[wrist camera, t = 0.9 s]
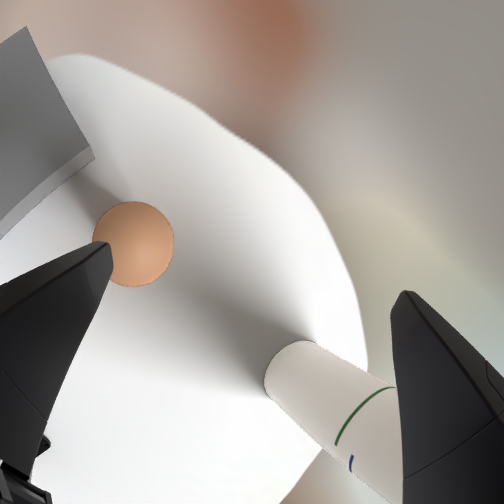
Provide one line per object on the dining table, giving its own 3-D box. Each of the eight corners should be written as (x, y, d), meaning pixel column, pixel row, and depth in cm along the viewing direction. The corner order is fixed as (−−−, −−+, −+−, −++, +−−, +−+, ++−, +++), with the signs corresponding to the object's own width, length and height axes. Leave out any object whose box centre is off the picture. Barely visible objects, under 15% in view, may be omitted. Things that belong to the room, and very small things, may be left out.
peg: (123, 266, 20) (126, 303, 11) (96, 228, 19) (75, 236, 10) (159, 238, 21) (190, 252, 12) (133, 200, 20) (143, 184, 11)
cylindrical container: (267, 411, 27) (458, 572, 5) (260, 353, 26) (515, 526, 3) (324, 387, 30) (514, 500, 7) (323, 331, 29) (560, 435, 6)
